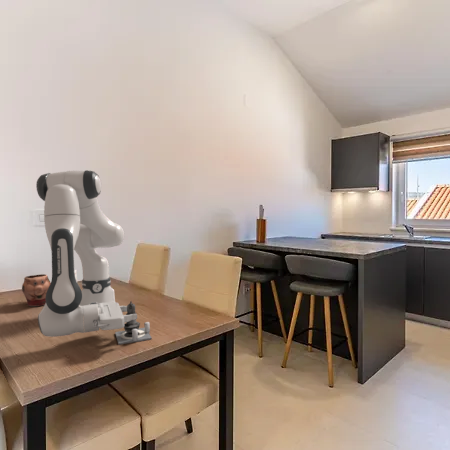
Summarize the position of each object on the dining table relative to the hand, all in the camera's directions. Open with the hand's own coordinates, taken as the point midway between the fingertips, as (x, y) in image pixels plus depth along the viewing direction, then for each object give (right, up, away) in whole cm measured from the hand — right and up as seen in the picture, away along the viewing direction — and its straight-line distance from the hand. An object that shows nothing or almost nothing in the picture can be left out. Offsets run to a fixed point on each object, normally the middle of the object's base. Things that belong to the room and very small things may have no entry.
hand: (134, 312), depth 120 cm
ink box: (-54, -6, +66) cm, 86 cm away
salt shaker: (-1, -8, 0) cm, 8 cm away
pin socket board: (-1, -9, 0) cm, 9 cm away
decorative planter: (-59, -8, +44) cm, 74 cm away
